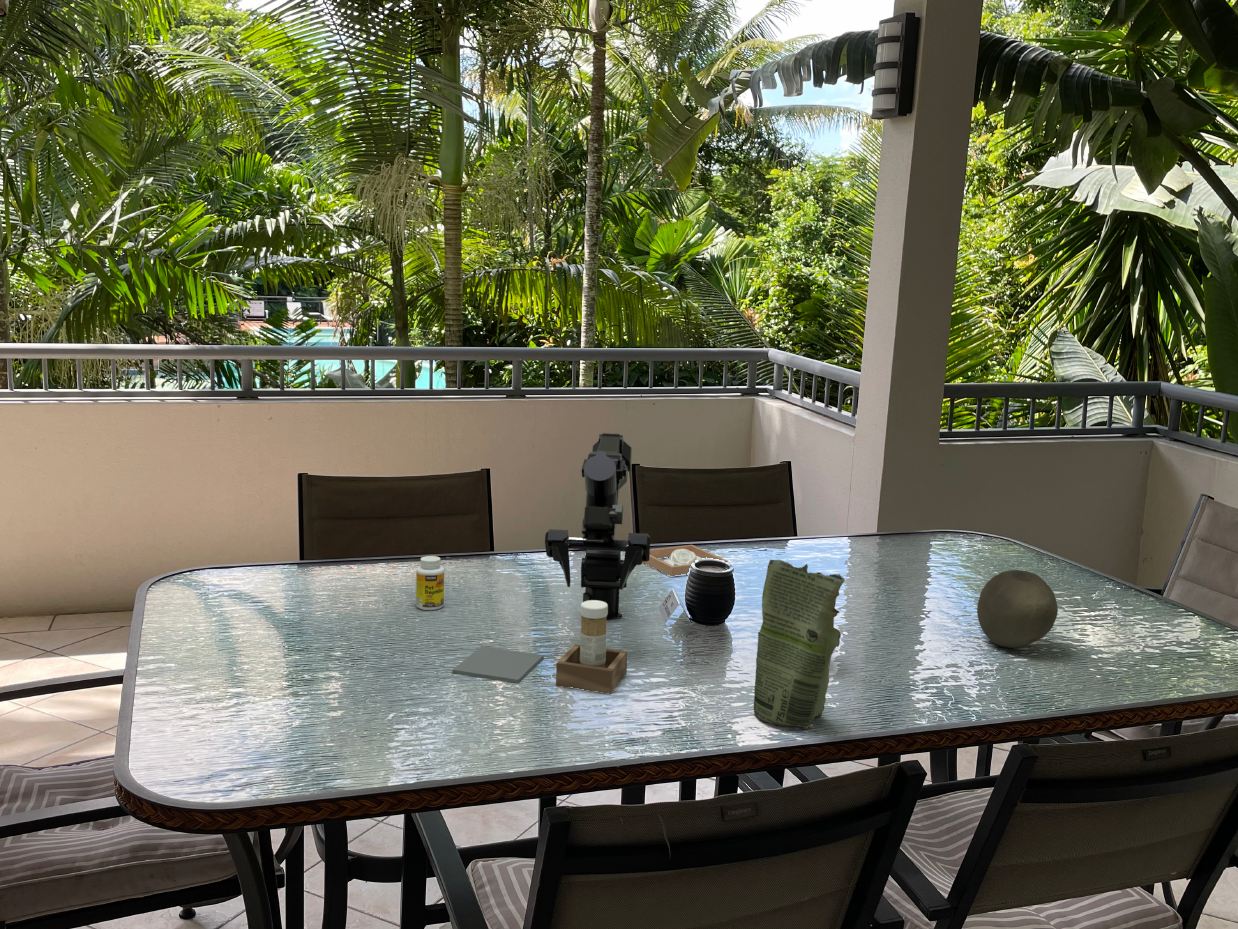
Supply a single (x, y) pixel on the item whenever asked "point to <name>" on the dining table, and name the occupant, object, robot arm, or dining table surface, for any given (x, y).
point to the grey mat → (498, 664)
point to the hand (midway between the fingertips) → (594, 587)
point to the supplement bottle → (430, 584)
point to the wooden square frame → (667, 553)
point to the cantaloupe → (1016, 608)
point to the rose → (682, 557)
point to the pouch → (795, 644)
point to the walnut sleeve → (591, 671)
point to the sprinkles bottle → (593, 633)
